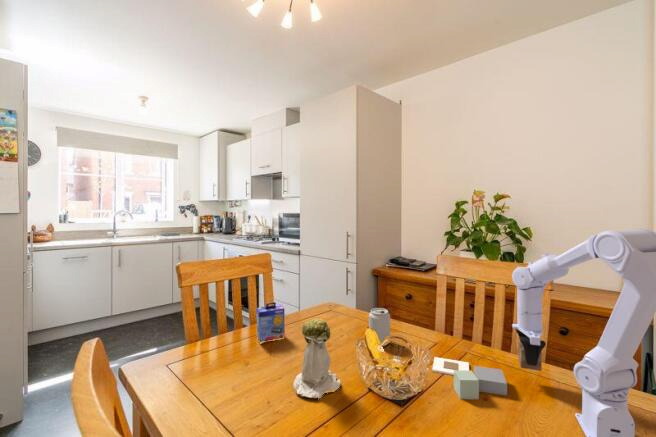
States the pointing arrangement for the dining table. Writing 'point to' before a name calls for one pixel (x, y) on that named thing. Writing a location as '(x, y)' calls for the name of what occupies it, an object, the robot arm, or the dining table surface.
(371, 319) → the can
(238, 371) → the dining table surface
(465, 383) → the grey-green block
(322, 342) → the grey statuette
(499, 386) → the slate plinth
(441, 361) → the plaque
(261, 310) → the ink cartridge box
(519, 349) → the walnut block
